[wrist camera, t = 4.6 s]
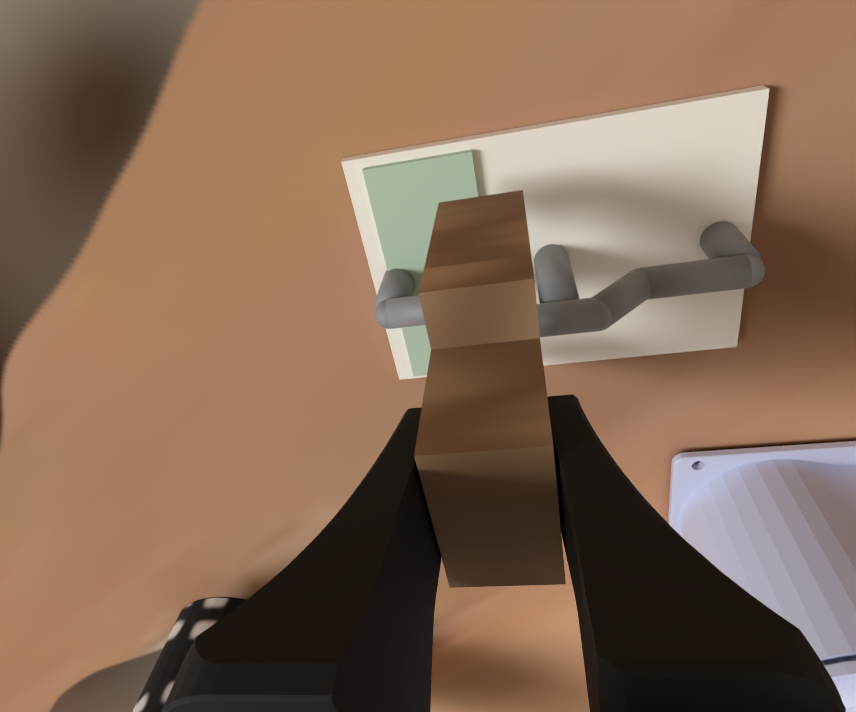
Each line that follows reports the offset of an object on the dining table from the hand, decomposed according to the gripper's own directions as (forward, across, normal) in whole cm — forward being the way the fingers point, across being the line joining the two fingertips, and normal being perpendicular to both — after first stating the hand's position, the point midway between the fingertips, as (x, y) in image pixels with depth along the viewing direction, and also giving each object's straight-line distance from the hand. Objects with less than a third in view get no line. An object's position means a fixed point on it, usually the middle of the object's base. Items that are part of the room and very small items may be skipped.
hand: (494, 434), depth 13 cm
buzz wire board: (+9, -2, 0) cm, 10 cm away
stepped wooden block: (+7, 0, 0) cm, 7 cm away
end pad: (+9, +2, 0) cm, 10 cm away
